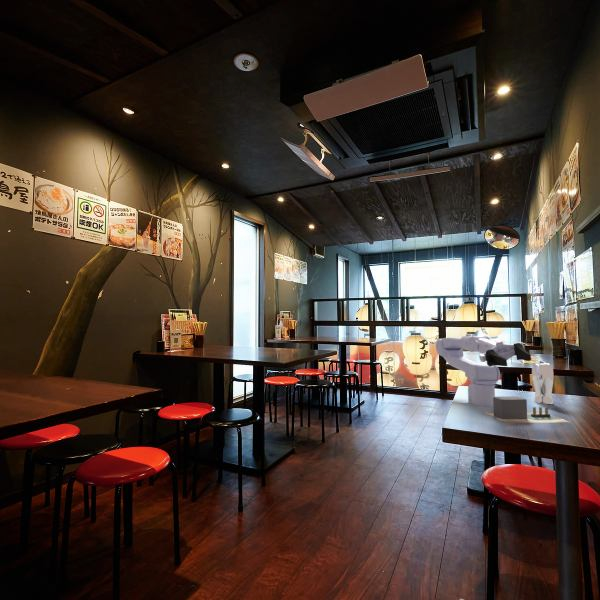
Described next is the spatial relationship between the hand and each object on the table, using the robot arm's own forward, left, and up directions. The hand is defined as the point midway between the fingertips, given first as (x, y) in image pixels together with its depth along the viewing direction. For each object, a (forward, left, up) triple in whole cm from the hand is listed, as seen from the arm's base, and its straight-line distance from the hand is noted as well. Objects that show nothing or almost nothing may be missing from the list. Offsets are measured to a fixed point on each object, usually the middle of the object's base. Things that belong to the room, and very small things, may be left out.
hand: (517, 360), depth 111 cm
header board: (-2, +3, -20) cm, 20 cm away
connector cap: (-2, -2, -18) cm, 18 cm away
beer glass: (-27, +28, -20) cm, 44 cm away
